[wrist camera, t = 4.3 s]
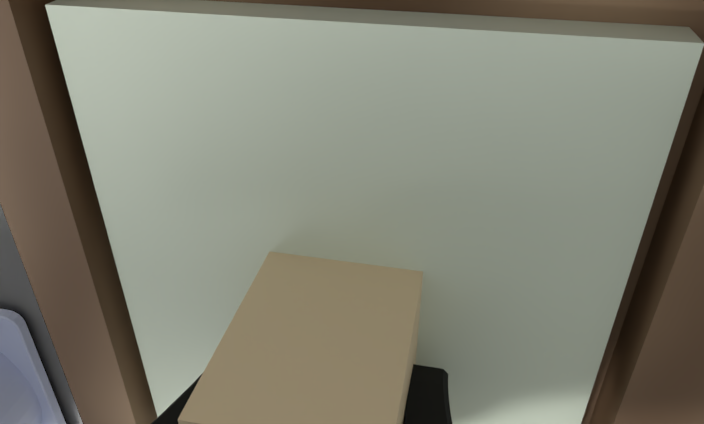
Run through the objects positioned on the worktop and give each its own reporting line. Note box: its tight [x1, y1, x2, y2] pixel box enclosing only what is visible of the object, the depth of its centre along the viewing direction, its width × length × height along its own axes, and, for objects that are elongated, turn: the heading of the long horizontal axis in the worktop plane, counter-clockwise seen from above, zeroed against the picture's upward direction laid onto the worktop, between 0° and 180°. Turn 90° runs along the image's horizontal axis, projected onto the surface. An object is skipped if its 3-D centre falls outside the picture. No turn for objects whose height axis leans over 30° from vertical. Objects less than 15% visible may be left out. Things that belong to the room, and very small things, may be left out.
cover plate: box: [45, 0, 704, 424], centre depth 11 cm, size 10×14×5 cm
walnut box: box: [0, 0, 704, 424], centre depth 12 cm, size 14×16×4 cm
